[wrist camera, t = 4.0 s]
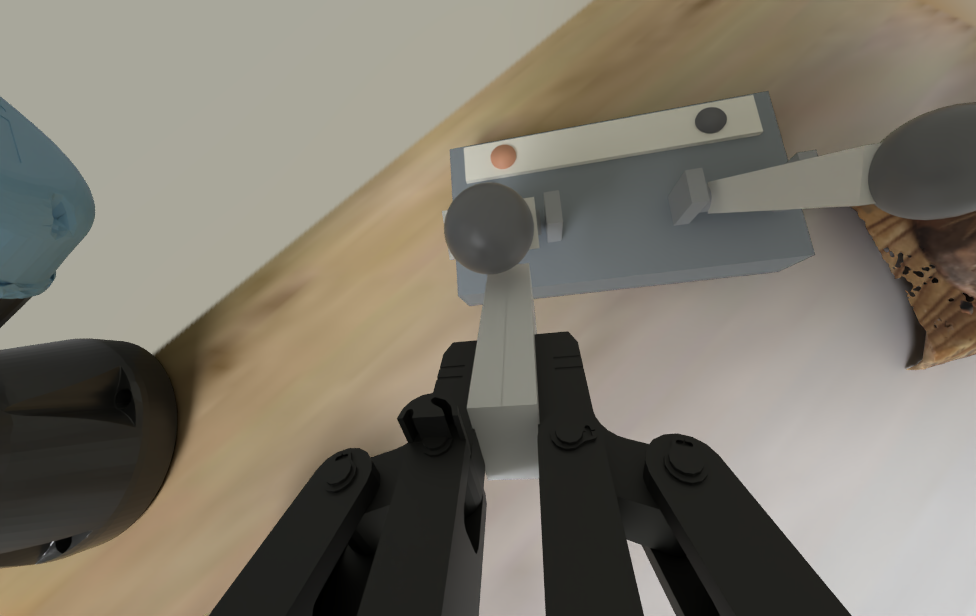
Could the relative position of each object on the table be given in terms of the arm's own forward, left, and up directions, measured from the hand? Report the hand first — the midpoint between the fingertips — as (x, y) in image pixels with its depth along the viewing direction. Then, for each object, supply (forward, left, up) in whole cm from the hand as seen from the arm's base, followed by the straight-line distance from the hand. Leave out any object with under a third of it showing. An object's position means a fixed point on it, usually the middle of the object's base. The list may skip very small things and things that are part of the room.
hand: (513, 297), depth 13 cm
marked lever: (-2, +5, -6) cm, 8 cm away
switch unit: (+3, +9, -10) cm, 13 cm away
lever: (+9, +9, -6) cm, 14 cm away
